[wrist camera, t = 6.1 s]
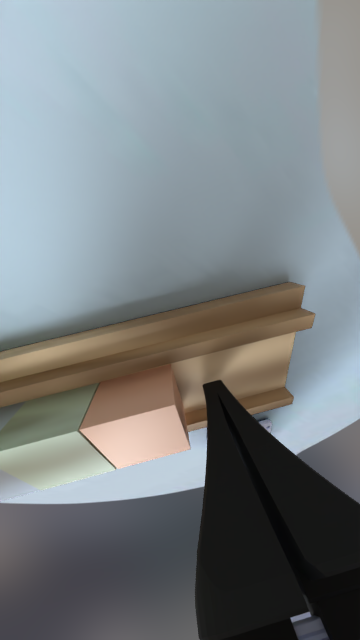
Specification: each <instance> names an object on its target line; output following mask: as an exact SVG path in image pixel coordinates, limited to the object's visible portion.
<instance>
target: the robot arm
mask: <svg viewBox="0 0 360 640" xmlns="http://www.w3.org/2000/svg"><path fill="white" fill-rule="evenodd" d="M202 386H203V391H204V395H205V400H206V410H207V460H206V476H205V489H204V498H203V509H202V517H201V526H200V534H199V542H198V549H197V566H196V567H197V568H196V584H195V607H196V616H197V625H198V634H199V639H200V640H360V504H359V503H358V502H356V501H355V500H354V499H352V498H351V497H349V496H348V495H346V494H345V493H344V492H342V491H341V490H340V489H338V488H337V487H336V486H334V485H333V484H332V483H330V482H329V481H328V480H326V479H325V478H324V477H322V476H321V475H320V474H319V473H317V472H316V471H315V470H313V469H312V468H311V467H309V466H308V465H307V464H306V463H305V462H303V461H302V460H301V459H300V458H298V457H297V456H296V455H295V454H294V453H292V452H291V451H290V450H289V449H287V448H286V447H285V446H284V445H283V444H282V443H280V442H279V441H278V440H277V439H276V438H275V437H274V436H273V435H271V434H270V432H271V427H272V422H271V421H270V420H269V419H267V420H263V421H259V422H258V421H257V420H256V419H255V418H254V417H253V416H252V415H251V414H250V413H249V412H248V411H247V410H246V409H245V408H244V407H243V406H242V405H241V404H240V403H239V401H238V400H237V399H236V398H235V397H234V396H233V395H232V393H231V392H230V391H229V390H228V388H227V387H226V386H225V384H224V383H223V382H222V380H216V381H213V382H209V383H205V384H203V385H202Z"/></svg>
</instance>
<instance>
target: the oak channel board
mask: <svg viewBox="0 0 360 640" xmlns="http://www.w3.org/2000/svg"><path fill="white" fill-rule="evenodd" d="M304 289H305V286H304V285H300V284H296V283H292V282H287V283H283V284H279V285H275V286H270V287H266V288H262V289H258V290H254V291H250V292H246V293H241V294H237V295H233V296H229V297H225V298H221V299H217V300H212V301H208V302H204V303H200V304H196V305H192V306H188V307H183V308H179V309H175V310H171V311H167V312H163V313H158V314H154V315H150V316H146V317H142V318H138V319H134V320H129V321H125V322H121V323H117V324H113V325H109V326H105V327H100V328H96V329H92V330H88V331H84V332H80V333H76V334H71V335H67V336H63V337H59V338H55V339H51V340H47V341H42V342H38V343H34V344H30V345H26V346H22V347H17V348H13V349H9V350H5V351H1V352H0V502H1V501H5V500H8V499H12V498H15V497H19V496H23V495H26V494H30V493H34V492H37V491H41V490H45V489H48V488H52V487H56V486H59V485H63V484H67V483H70V482H74V481H78V480H81V479H85V478H88V477H92V476H96V475H99V474H103V473H107V472H110V471H114V470H116V467H115V466H114V465H113V464H112V463H111V462H110V461H109V460H108V459H107V457H106V456H105V455H104V454H103V453H102V452H101V451H100V450H99V449H98V448H97V447H96V446H95V445H94V444H93V443H92V442H91V441H90V440H89V439H88V438H87V437H86V436H85V435H84V434H83V433H82V432H81V431H80V430H79V429H80V427H81V425H82V422H83V420H84V418H85V416H86V413H87V411H88V409H89V407H90V404H91V402H92V400H93V397H94V395H95V393H96V391H97V388H98V386H99V384H100V382H101V381H105V380H109V379H113V378H117V377H121V376H125V375H129V374H133V373H137V372H141V371H145V370H149V369H153V368H156V367H160V366H164V365H168V364H171V367H172V370H173V374H174V377H175V380H176V383H177V387H178V390H179V393H180V396H181V399H182V403H183V406H184V412H185V418H186V424H187V430H188V432H190V431H194V430H197V429H201V428H205V427H207V410H206V400H205V395H204V391H203V386H202V385H203V384H205V383H209V382H213V381H216V380H222V382H223V383H224V384H225V386H226V387H227V388H228V390H229V391H230V392H231V393H232V395H233V396H234V397H235V398H236V399H237V400H238V401H239V403H240V404H241V405H242V406H243V407H244V408H245V409H246V410H247V411H248V412H249V413H250V414H251V415H253V414H257V413H260V412H264V411H268V410H272V409H275V408H279V407H283V406H286V405H290V404H292V402H293V398H294V397H293V395H292V394H291V393H290V392H289V391H288V390H287V389H286V388H285V383H286V378H287V373H288V368H289V363H290V358H291V353H292V348H293V343H294V339H295V334H296V332H297V331H301V330H305V329H309V328H312V325H313V321H314V317H315V313H312V312H310V311H307V310H305V309H302V308H301V304H302V299H303V294H304Z"/></svg>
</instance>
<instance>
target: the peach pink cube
mask: <svg viewBox="0 0 360 640" xmlns="http://www.w3.org/2000/svg"><path fill="white" fill-rule="evenodd" d="M79 430H80V431H81V432H82V433H83V434H84V435H85V436H86V437H87V438H88V439H89V440H90V441H91V442H92V443H93V444H94V445H95V446H96V447H97V448H98V449H99V450H100V451H101V452H102V453H103V454H104V455H105V456H106V457H107V459H108V460H109V461H110V462H111V463H112V464H113V465H114V466H115V467H116V468H117V469H120V468H124V467H127V466H131V465H135V464H138V463H142V462H145V461H149V460H153V459H156V458H160V457H164V456H167V455H171V454H175V453H178V452H182V451H186V450H189V449H190V443H189V436H188V430H187V424H186V418H185V412H184V406H183V403H182V399H181V396H180V393H179V390H178V387H177V383H176V380H175V377H174V374H173V370H172V367H171V364H168V365H164V366H160V367H156V368H153V369H149V370H145V371H141V372H137V373H133V374H129V375H125V376H121V377H117V378H113V379H109V380H105V381H101V382H100V384H99V386H98V388H97V391H96V393H95V395H94V397H93V400H92V402H91V404H90V407H89V409H88V411H87V413H86V416H85V418H84V420H83V422H82V425H81V427H80V429H79Z"/></svg>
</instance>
